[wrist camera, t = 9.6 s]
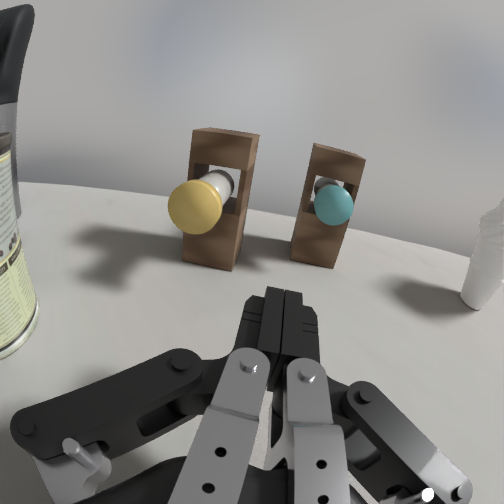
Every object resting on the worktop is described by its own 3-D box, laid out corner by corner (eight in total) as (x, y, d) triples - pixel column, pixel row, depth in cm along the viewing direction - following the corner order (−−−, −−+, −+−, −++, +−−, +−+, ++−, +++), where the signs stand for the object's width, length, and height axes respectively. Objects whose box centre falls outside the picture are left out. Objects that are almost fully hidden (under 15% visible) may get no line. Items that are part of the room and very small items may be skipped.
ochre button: (166, 228, 20) (169, 179, 18) (197, 201, 26) (201, 162, 24) (215, 239, 19) (222, 187, 18) (235, 208, 26) (241, 169, 24)
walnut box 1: (182, 260, 28) (192, 129, 21) (197, 239, 32) (209, 127, 26) (231, 271, 27) (252, 137, 21) (240, 248, 32) (259, 134, 26)
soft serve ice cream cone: (494, 308, 28) (537, 213, 21) (485, 327, 24) (540, 213, 16) (457, 280, 34) (494, 187, 27) (442, 293, 30) (487, 182, 22)
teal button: (310, 220, 26) (319, 183, 24) (307, 200, 32) (314, 169, 30) (347, 229, 26) (358, 193, 24) (337, 207, 32) (345, 177, 30)
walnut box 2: (290, 259, 31) (317, 146, 25) (291, 241, 36) (313, 142, 30) (333, 268, 31) (365, 159, 25) (328, 249, 36) (355, 153, 29)
